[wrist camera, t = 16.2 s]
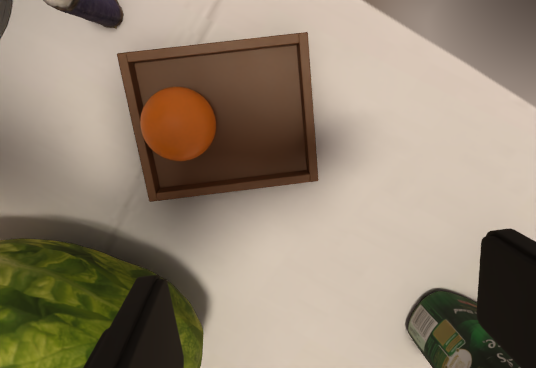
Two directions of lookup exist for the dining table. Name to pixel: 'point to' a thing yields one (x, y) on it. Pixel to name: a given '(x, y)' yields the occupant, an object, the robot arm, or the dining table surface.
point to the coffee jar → (454, 334)
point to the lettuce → (70, 304)
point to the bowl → (4, 14)
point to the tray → (231, 113)
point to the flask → (91, 10)
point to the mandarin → (178, 123)
